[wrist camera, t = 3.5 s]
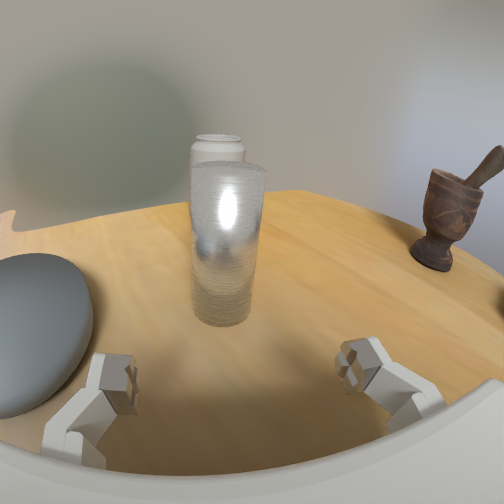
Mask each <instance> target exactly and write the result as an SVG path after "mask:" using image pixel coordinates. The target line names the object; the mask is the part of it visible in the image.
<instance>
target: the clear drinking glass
mask: <svg viewBox="0 0 504 504" xmlns="http://www.w3.org/2000/svg"><path fill="white" fill-rule="evenodd" d="M266 172H267V171H266V170H265V169H264V168H262V167H260V166H257V165H253V164H250V163H245V162H237V161H206V162H201V163H197V164H195V165H193V166H192V185H191V261H192V293H193V310H194V313H195V315H196V316H197V317H198V318H199V319H200V320H201V321H203V322H204V323H206V324H209V325H212V326H217V327H229V326H234V325H237V324H239V323H241V322H243V321H244V320H245V319H246V318H247V317H248V315H249V313H250V308H251V300H252V292H253V283H254V275H255V267H256V258H257V250H258V242H259V233H260V225H261V216H262V208H263V199H264V191H265V182H266Z"/></svg>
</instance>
